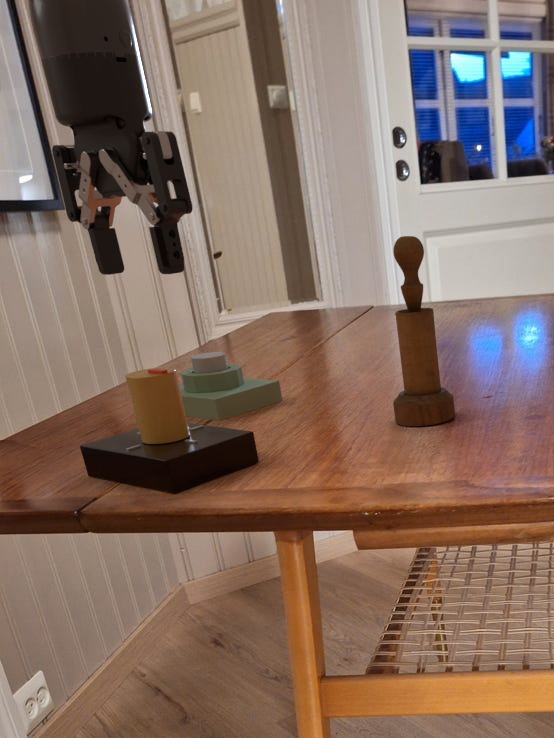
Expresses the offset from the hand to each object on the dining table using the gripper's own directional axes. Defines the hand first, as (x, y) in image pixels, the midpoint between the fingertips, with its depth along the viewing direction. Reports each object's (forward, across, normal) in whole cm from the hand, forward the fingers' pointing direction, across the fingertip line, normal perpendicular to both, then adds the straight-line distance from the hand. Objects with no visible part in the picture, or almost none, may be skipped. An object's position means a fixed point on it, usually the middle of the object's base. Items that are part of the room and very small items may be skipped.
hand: (142, 273), depth 77 cm
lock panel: (+17, +1, -2) cm, 17 cm away
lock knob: (+14, +1, -2) cm, 14 cm away
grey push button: (+13, -16, +18) cm, 27 cm away
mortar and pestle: (+17, +13, +22) cm, 31 cm away
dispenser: (+17, -16, +18) cm, 30 cm away
